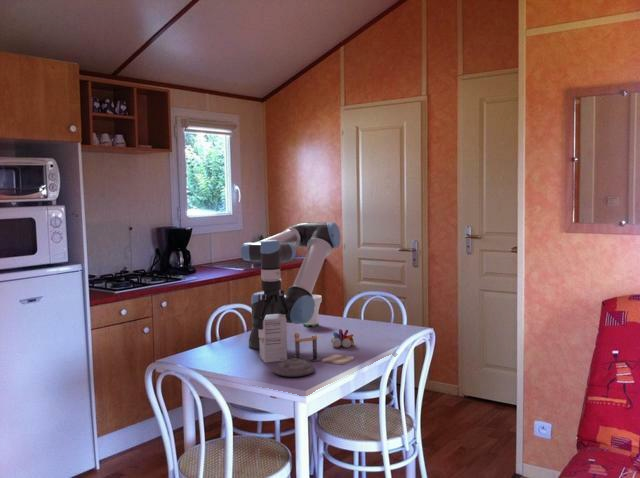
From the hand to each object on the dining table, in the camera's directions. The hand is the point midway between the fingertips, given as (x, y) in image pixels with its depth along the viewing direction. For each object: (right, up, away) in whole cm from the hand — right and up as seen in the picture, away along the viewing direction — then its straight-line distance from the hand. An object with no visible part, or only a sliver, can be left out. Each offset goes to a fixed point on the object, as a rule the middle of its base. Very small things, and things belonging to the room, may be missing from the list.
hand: (272, 334), depth 238 cm
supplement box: (0, -10, +1) cm, 10 cm away
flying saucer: (+9, -12, -18) cm, 23 cm away
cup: (+14, -5, +59) cm, 61 cm away
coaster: (+26, -10, -4) cm, 28 cm away
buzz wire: (+12, -10, -3) cm, 16 cm away
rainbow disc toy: (+28, -8, +18) cm, 34 cm away
